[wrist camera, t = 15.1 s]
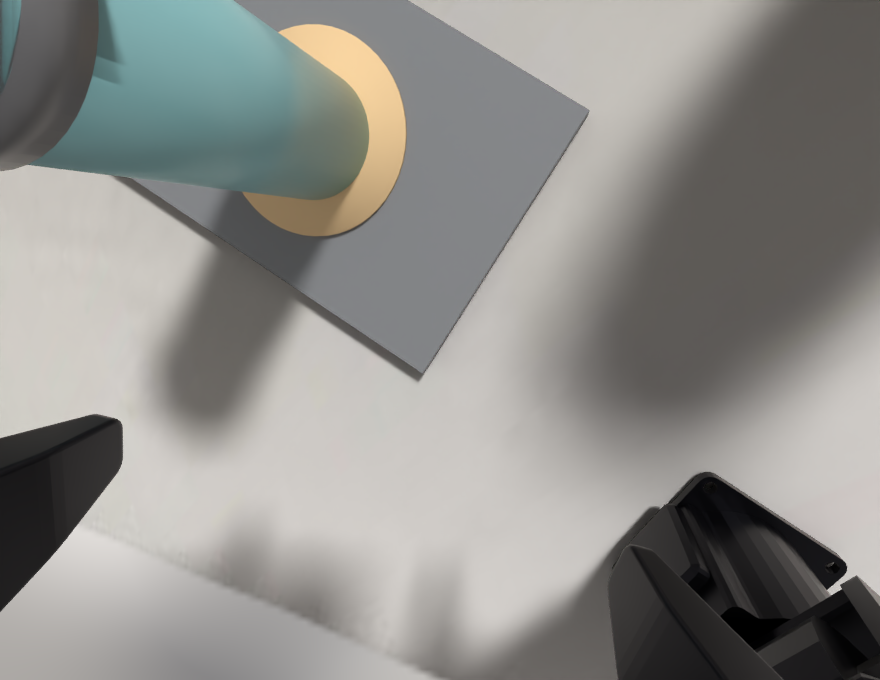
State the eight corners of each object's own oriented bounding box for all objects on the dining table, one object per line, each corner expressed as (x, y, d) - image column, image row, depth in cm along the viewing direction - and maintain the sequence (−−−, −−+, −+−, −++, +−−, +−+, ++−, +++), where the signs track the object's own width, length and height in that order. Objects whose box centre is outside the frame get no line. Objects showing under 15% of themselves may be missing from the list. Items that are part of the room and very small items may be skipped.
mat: (587, 115, 18) (589, 109, 17) (427, 368, 21) (421, 374, 21) (204, -118, 19) (185, -136, 18) (113, 158, 23) (94, 155, 22)
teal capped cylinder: (398, 157, 19) (100, 18, 6) (295, 229, 20) (-100, 228, 8) (328, 31, 18) (-138, -379, 6) (228, 115, 20) (-298, -72, 8)
